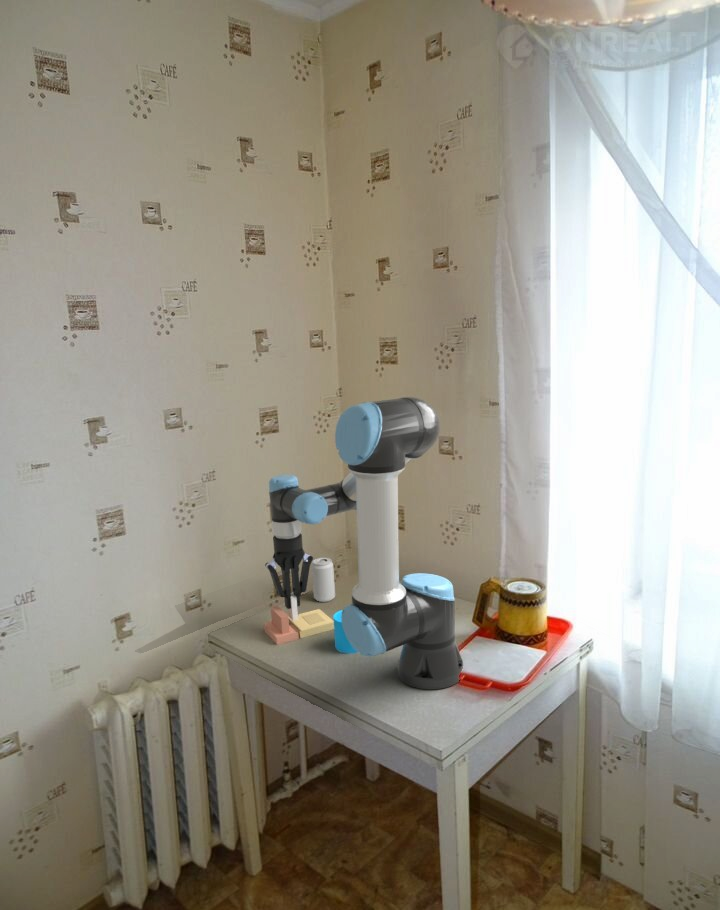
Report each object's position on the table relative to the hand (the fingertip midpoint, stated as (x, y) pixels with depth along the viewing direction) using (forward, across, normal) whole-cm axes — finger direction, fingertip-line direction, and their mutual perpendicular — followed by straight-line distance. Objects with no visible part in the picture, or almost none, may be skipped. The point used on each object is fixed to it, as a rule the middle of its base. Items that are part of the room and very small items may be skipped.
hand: (293, 618), depth 180 cm
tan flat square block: (+4, -5, 0) cm, 6 cm away
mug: (+4, -10, +14) cm, 18 cm away
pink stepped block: (+4, +4, 0) cm, 5 cm away
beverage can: (+4, -15, -15) cm, 22 cm away
